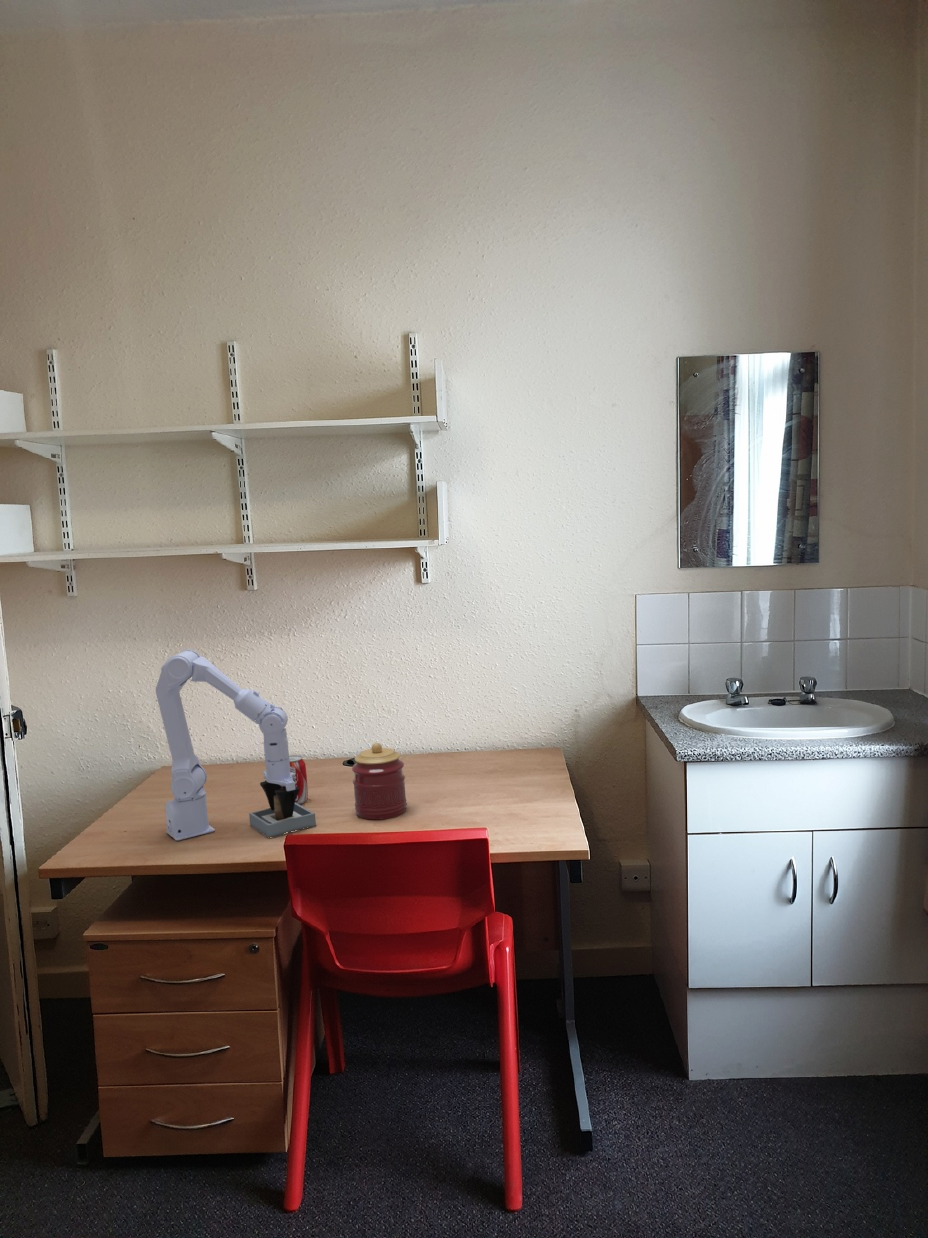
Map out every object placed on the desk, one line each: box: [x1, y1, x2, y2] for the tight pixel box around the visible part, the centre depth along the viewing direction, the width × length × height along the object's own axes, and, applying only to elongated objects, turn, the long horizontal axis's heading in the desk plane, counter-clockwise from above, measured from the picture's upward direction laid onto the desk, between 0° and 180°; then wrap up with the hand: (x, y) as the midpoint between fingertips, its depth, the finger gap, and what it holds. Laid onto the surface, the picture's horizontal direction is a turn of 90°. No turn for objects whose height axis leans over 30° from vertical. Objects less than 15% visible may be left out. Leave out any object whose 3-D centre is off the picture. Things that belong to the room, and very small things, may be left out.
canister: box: [351, 742, 408, 820], centre depth 225 cm, size 13×13×18 cm
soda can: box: [282, 754, 309, 805], centre depth 237 cm, size 7×7×12 cm
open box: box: [248, 803, 317, 839], centre depth 220 cm, size 12×12×3 cm
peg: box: [274, 795, 288, 821], centre depth 219 cm, size 3×3×7 cm
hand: (281, 813), depth 220 cm, fingers open, 7 cm apart
